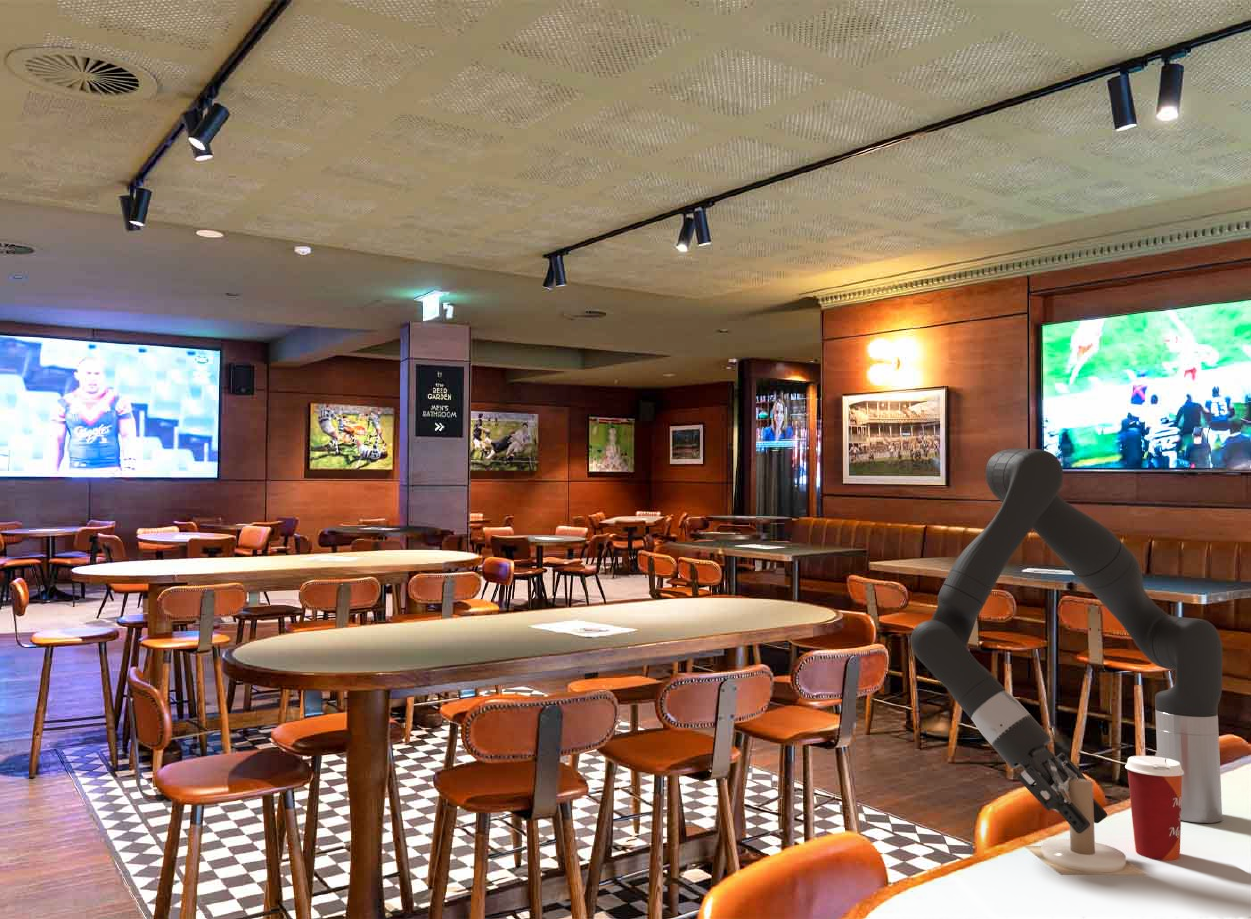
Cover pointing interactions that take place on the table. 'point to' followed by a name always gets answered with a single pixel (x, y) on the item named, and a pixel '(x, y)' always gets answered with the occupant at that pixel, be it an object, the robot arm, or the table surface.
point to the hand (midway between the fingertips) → (1093, 824)
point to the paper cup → (1156, 806)
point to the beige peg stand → (1083, 839)
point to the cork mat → (1128, 870)
